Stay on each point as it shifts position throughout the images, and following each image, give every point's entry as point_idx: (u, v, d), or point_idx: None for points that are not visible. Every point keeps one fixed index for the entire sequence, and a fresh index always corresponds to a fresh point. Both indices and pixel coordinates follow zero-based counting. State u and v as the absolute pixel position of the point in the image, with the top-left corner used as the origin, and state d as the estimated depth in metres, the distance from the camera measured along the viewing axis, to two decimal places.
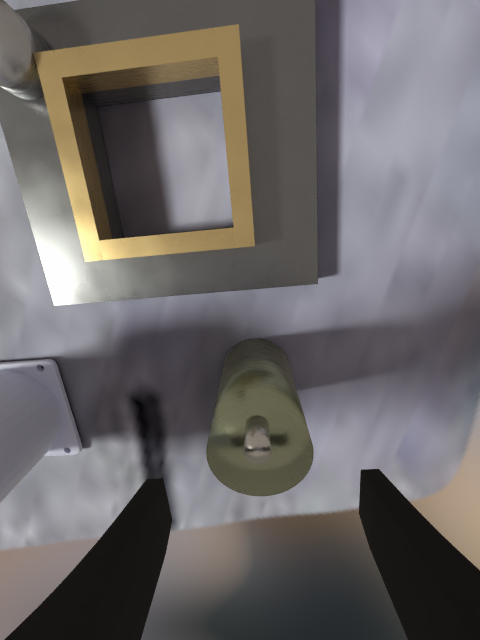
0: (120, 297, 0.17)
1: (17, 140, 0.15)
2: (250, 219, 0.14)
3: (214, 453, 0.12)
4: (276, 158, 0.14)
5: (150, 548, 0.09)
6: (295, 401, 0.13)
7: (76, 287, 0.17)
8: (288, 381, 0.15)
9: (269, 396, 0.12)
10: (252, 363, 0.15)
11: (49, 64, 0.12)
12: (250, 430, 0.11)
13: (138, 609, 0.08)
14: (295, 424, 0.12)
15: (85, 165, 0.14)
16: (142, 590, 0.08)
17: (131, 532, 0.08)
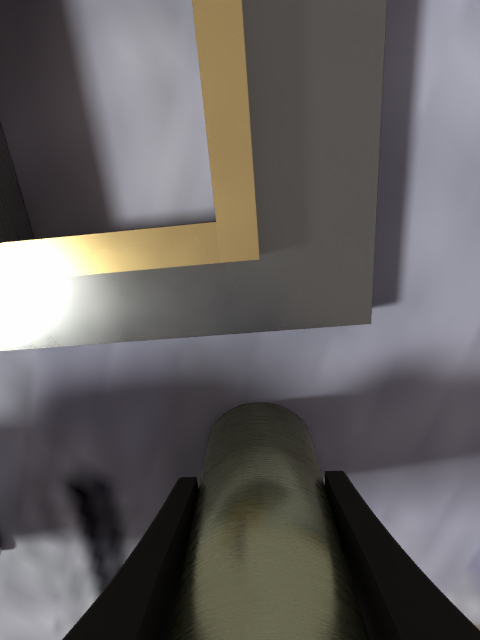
0: (25, 344, 0.10)
1: None
2: (250, 206, 0.07)
3: None
4: (301, 86, 0.07)
5: None
6: (348, 600, 0.06)
7: None
8: (324, 522, 0.08)
9: (296, 628, 0.05)
10: (253, 477, 0.08)
11: None
12: None
13: None
14: None
15: None
16: None
17: (174, 531, 0.08)
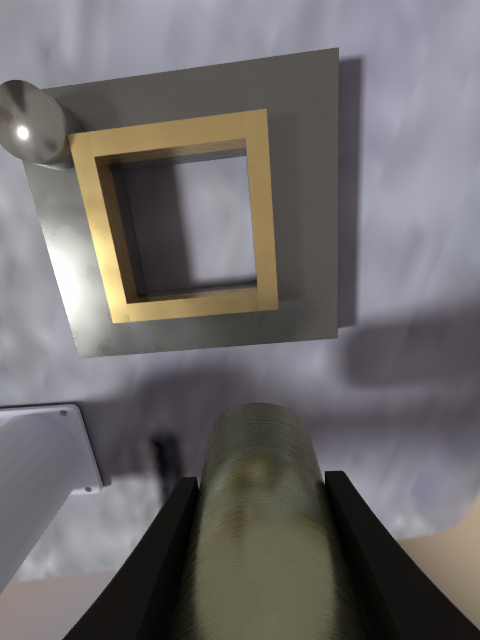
0: (144, 350, 0.17)
1: (46, 207, 0.15)
2: (274, 285, 0.14)
3: None
4: (298, 223, 0.15)
5: None
6: (349, 600, 0.06)
7: (101, 341, 0.17)
8: (324, 522, 0.08)
9: (296, 628, 0.05)
10: (254, 477, 0.08)
11: (82, 145, 0.13)
12: None
13: None
14: None
15: (114, 234, 0.14)
16: None
17: (174, 531, 0.08)
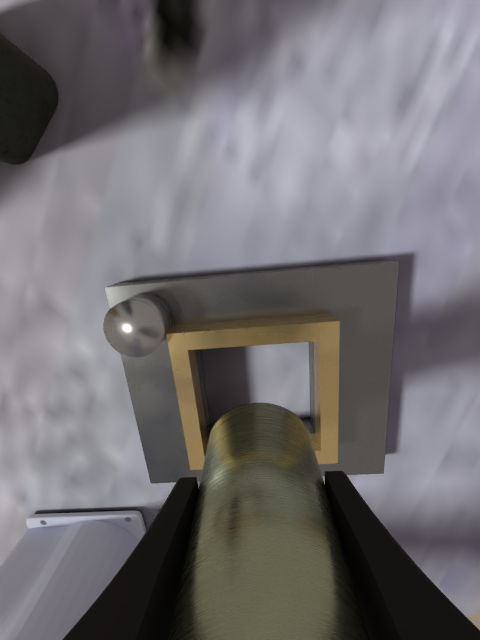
0: None
1: (134, 369, 0.17)
2: (335, 445, 0.17)
3: None
4: (355, 387, 0.17)
5: None
6: (348, 600, 0.06)
7: (172, 471, 0.19)
8: (324, 521, 0.08)
9: (296, 628, 0.05)
10: (253, 477, 0.08)
11: (178, 341, 0.15)
12: None
13: None
14: None
15: (197, 401, 0.16)
16: None
17: (174, 531, 0.08)
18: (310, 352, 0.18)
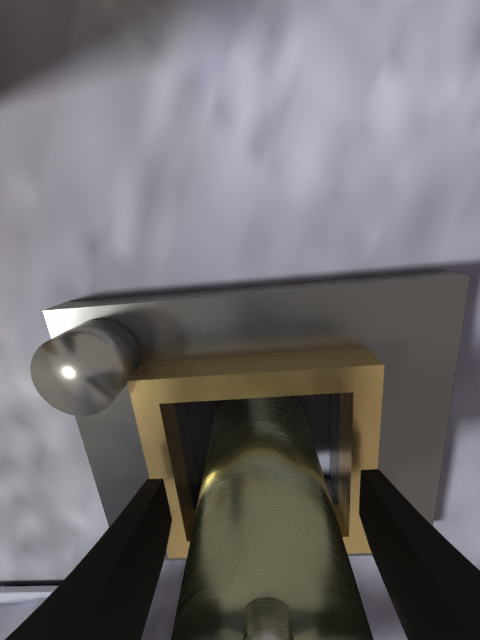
0: None
1: (90, 421, 0.12)
2: None
3: None
4: (395, 447, 0.12)
5: (150, 548, 0.09)
6: (332, 529, 0.08)
7: None
8: (314, 475, 0.09)
9: (288, 539, 0.07)
10: (254, 440, 0.10)
11: (145, 391, 0.10)
12: None
13: (138, 609, 0.08)
14: (342, 613, 0.06)
15: (175, 470, 0.12)
16: (142, 590, 0.08)
17: (131, 532, 0.08)
18: (332, 396, 0.13)
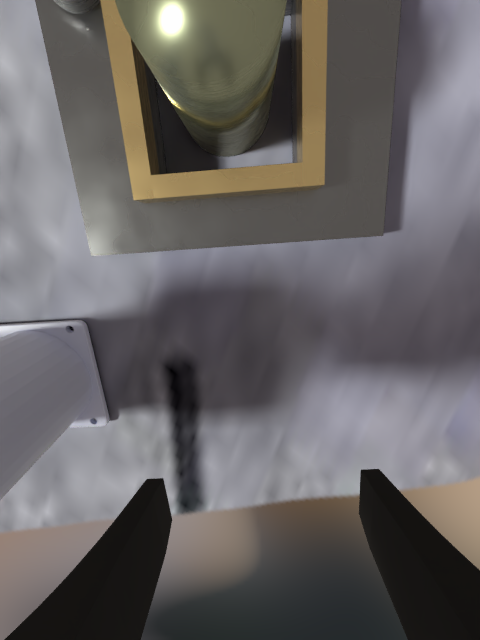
0: (164, 247, 0.15)
1: (61, 62, 0.13)
2: (322, 153, 0.13)
3: None
4: (349, 89, 0.13)
5: (150, 548, 0.09)
6: None
7: (117, 235, 0.15)
8: None
9: None
10: None
11: None
12: None
13: (138, 609, 0.08)
14: None
15: (140, 87, 0.12)
16: (142, 590, 0.08)
17: (131, 532, 0.08)
18: (292, 55, 0.14)
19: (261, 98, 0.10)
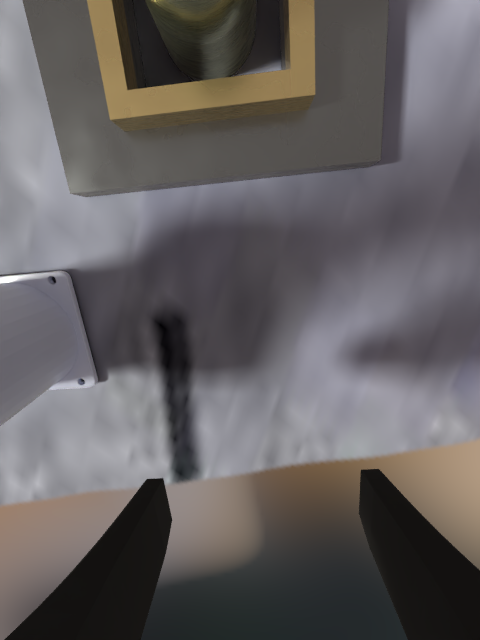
0: (147, 181, 0.15)
1: None
2: (311, 58, 0.12)
3: None
4: None
5: (150, 548, 0.09)
6: None
7: (96, 169, 0.14)
8: None
9: None
10: None
11: None
12: None
13: (138, 609, 0.08)
14: None
15: None
16: (142, 590, 0.08)
17: (131, 532, 0.08)
18: None
19: None
